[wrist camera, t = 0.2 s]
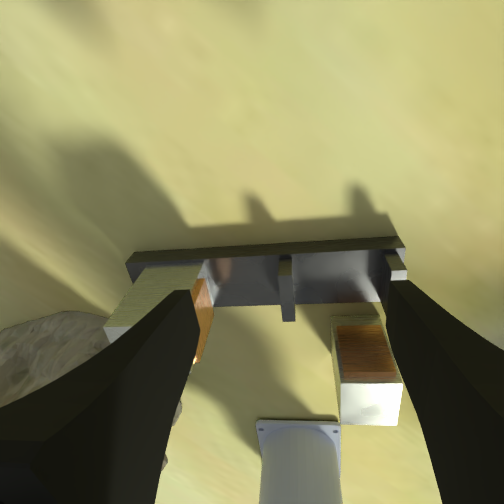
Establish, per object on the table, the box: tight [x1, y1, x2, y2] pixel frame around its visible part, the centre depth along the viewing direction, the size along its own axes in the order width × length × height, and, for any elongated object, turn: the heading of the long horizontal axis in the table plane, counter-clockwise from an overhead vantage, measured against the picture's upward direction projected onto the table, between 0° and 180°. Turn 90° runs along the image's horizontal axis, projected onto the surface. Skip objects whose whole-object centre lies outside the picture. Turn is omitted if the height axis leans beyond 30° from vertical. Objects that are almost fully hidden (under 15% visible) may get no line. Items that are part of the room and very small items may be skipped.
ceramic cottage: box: [0, 311, 182, 471], centre depth 26 cm, size 16×16×15 cm
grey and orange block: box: [331, 315, 403, 426], centre depth 23 cm, size 4×4×6 cm
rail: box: [103, 236, 407, 373], centre depth 20 cm, size 18×4×8 cm, turn 97°
